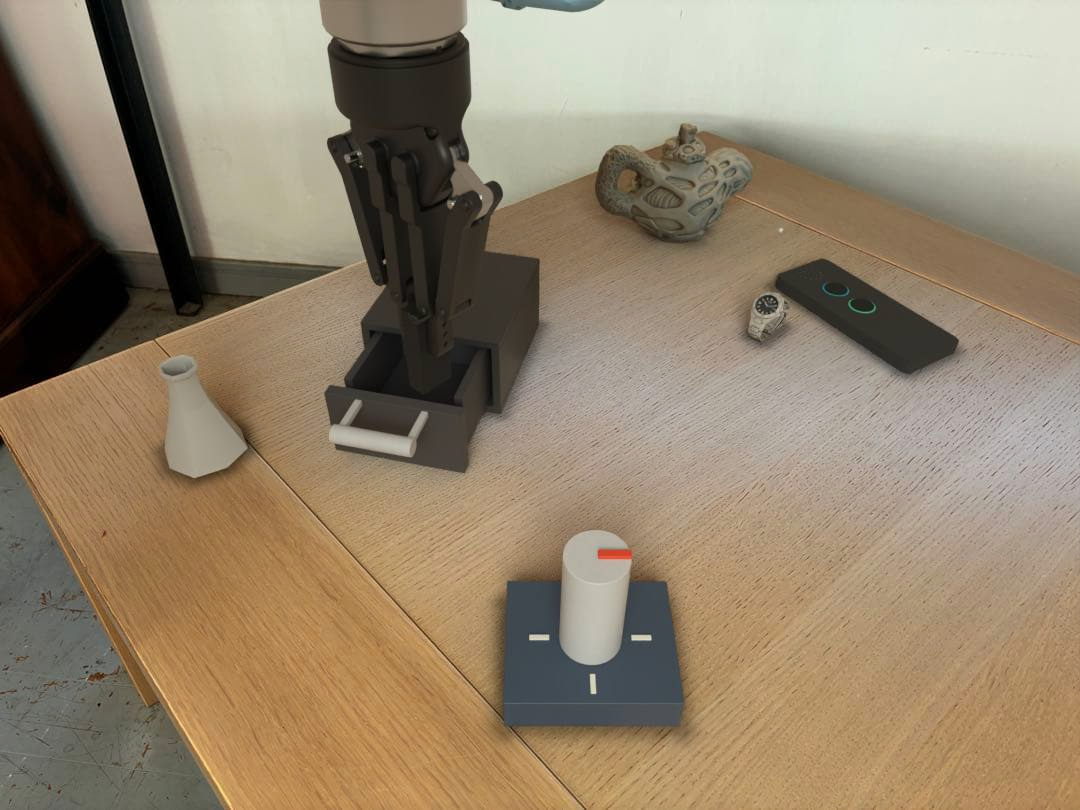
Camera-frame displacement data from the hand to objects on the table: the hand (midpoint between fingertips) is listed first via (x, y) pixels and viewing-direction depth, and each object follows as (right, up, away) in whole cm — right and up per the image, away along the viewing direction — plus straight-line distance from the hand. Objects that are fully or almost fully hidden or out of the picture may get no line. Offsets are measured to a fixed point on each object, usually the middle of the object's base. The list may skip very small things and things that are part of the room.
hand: (430, 381), depth 59 cm
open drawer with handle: (-4, -4, +19) cm, 20 cm away
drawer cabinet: (-1, +3, +29) cm, 29 cm away
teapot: (+25, +20, +50) cm, 59 cm away
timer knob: (+11, -18, -1) cm, 21 cm away
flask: (-23, -6, +18) cm, 30 cm away
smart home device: (+44, +8, +35) cm, 57 cm away
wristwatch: (+33, +6, +33) cm, 47 cm away
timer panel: (+11, -20, +1) cm, 23 cm away
